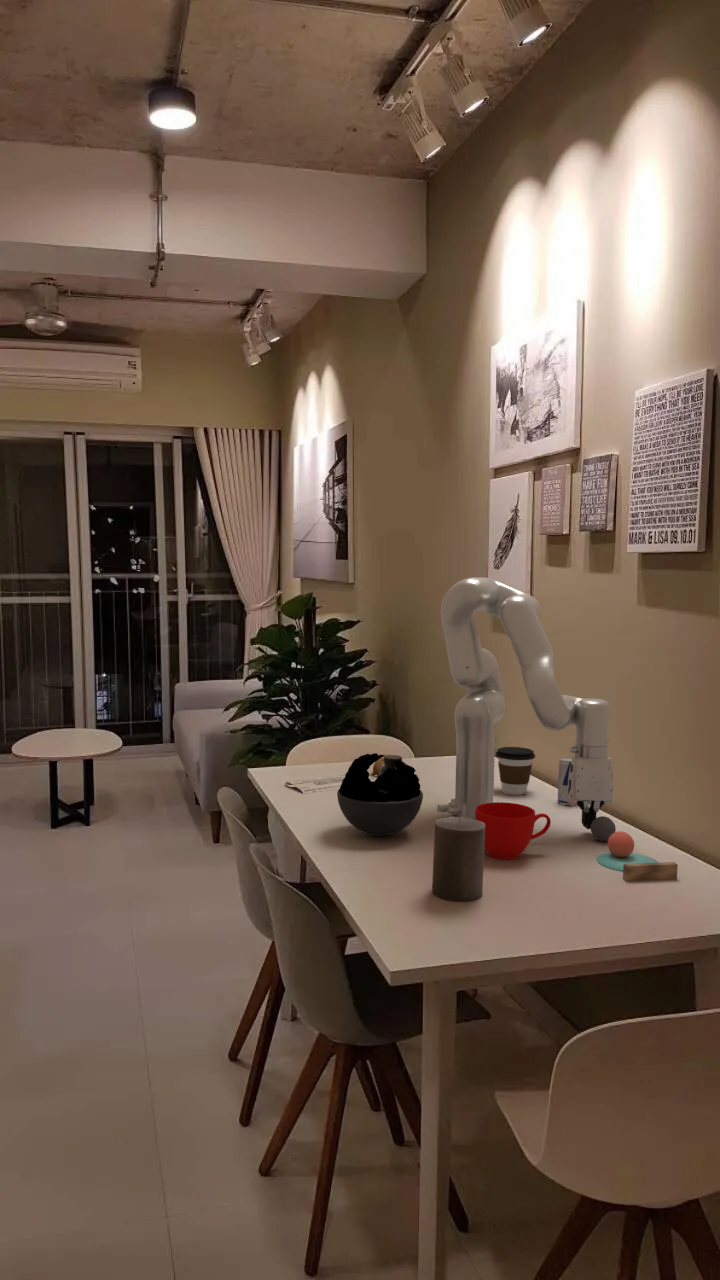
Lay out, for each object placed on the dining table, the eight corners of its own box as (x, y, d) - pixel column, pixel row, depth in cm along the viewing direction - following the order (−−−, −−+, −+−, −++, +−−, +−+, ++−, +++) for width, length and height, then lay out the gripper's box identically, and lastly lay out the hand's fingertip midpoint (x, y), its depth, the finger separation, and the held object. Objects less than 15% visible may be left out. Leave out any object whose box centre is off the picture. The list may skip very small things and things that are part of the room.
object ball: (603, 842, 202) (611, 864, 198) (604, 828, 198) (612, 850, 194) (628, 838, 202) (636, 859, 198) (630, 824, 198) (638, 846, 194)
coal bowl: (329, 823, 220) (330, 747, 218) (409, 820, 224) (411, 745, 223) (345, 849, 201) (346, 765, 199) (432, 845, 205) (434, 762, 203)
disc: (624, 875, 186) (624, 874, 186) (584, 856, 198) (584, 855, 198) (673, 868, 191) (673, 867, 191) (631, 850, 203) (631, 849, 203)
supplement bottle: (375, 798, 244) (376, 754, 243) (398, 796, 247) (399, 753, 246) (385, 805, 238) (386, 760, 237) (409, 802, 241) (410, 758, 240)
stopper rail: (626, 880, 183) (626, 866, 183) (622, 878, 185) (623, 863, 184) (676, 878, 185) (677, 864, 185) (673, 876, 186) (673, 862, 186)
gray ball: (587, 816, 213) (586, 840, 212) (595, 814, 208) (594, 838, 206) (611, 818, 214) (610, 843, 212) (619, 816, 208) (618, 841, 207)
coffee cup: (537, 798, 248) (538, 754, 247) (497, 797, 248) (498, 754, 247) (530, 788, 259) (532, 746, 258) (492, 787, 259) (493, 746, 258)
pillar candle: (447, 904, 169) (450, 825, 167) (423, 887, 178) (426, 812, 176) (492, 898, 173) (495, 821, 171) (466, 881, 181) (469, 808, 180)
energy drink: (578, 806, 239) (580, 762, 238) (557, 805, 241) (559, 760, 240) (577, 801, 245) (579, 757, 244) (557, 800, 246) (559, 756, 245)
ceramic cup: (560, 862, 194) (561, 816, 193) (484, 865, 191) (485, 819, 190) (538, 844, 207) (540, 801, 206) (466, 846, 204) (468, 802, 203)
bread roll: (380, 782, 279) (369, 758, 278) (411, 769, 277) (400, 745, 277) (376, 790, 269) (365, 765, 269) (408, 777, 267) (397, 752, 267)
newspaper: (347, 778, 271) (347, 770, 270) (369, 791, 260) (369, 783, 260) (279, 786, 258) (279, 778, 258) (299, 800, 248) (300, 791, 248)
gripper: (567, 755, 209) (564, 833, 210) (628, 754, 211) (625, 831, 213) (555, 748, 216) (552, 824, 218) (614, 747, 219) (611, 822, 220)
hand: (588, 827), depth 215 cm, fingers closed
